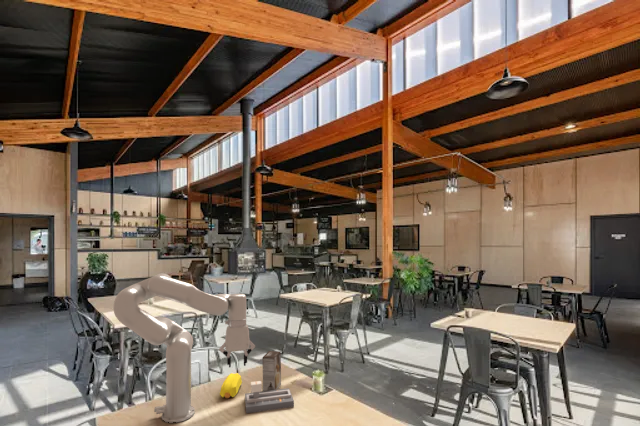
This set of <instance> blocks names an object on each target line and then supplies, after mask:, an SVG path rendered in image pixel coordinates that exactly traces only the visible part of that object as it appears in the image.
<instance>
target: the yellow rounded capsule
mask: <svg viewBox="0 0 640 426" xmlns="http://www.w3.org/2000/svg"><path fill="white" fill-rule="evenodd" d="M242 384H243V380H242V376H241V375H240V374H239V373H238V372H236V373H233V372H232V373H230V374H228V375H227V376H226V378H224V381H223V383H222V385H221V387H220V392H219V395H220V396H221V397H222V398H225V399H230V398H231V397H232V398H234V397H236V396H237V394H238V391H239V390H240V387H241V385H242Z"/></svg>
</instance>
